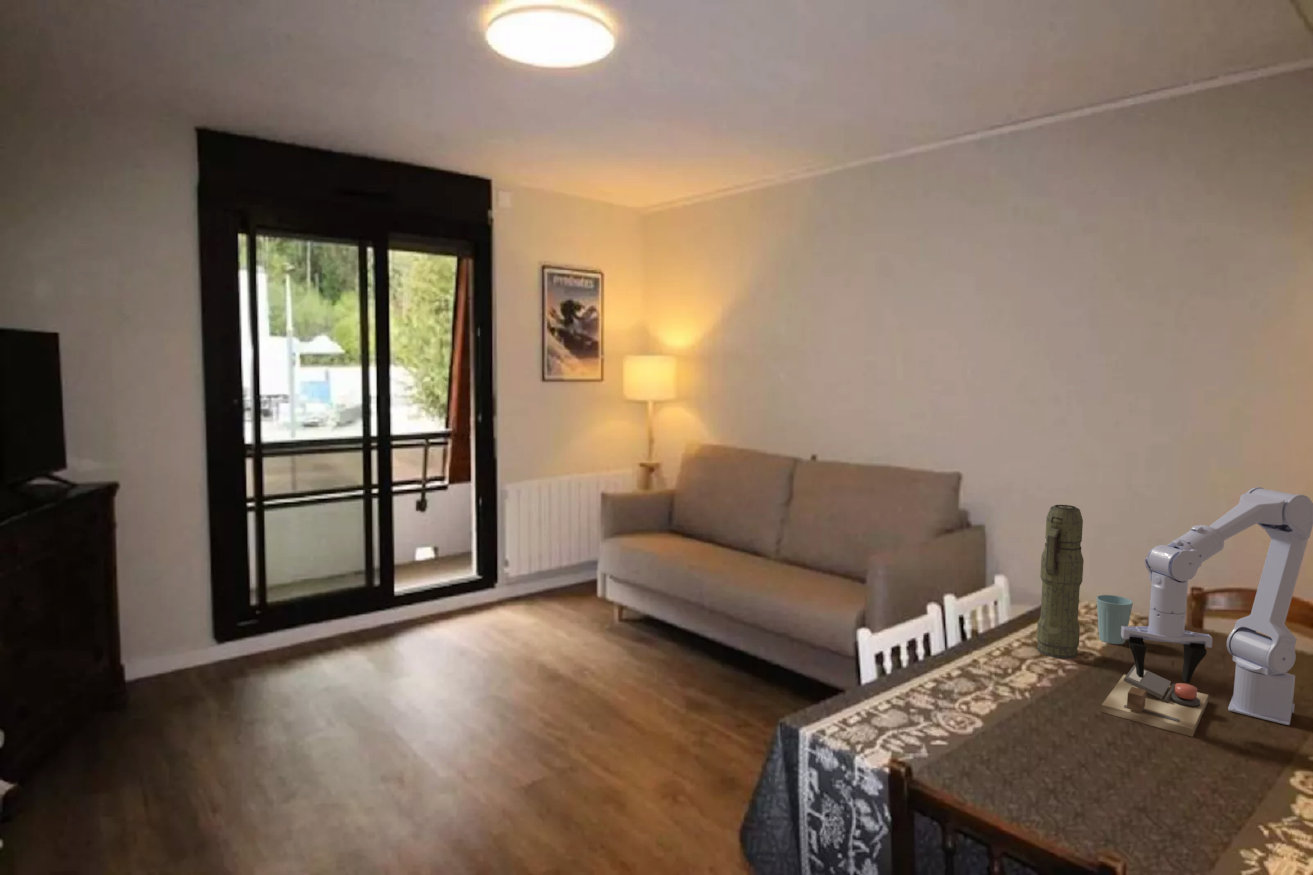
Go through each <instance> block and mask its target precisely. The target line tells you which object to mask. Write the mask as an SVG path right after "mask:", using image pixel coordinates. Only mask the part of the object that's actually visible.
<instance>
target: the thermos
mask: <svg viewBox="0 0 1313 875" xmlns="http://www.w3.org/2000/svg"><path fill="white" fill-rule="evenodd" d="M1083 523H1084V521H1083V516H1082V513H1081V509H1080V508H1079V507H1077V506H1074V505H1069V504H1055V505H1053V506H1051V507H1050V509H1049V510H1048V512H1047V515H1046V523H1045V540H1046V541H1045V544H1044V549H1043V551H1042V553H1041V560H1040V577H1039V578H1041V583H1042V585H1041V598H1040V599H1041V600H1040V602H1041V603H1040V617H1039V619H1038V621H1037V625H1036V626H1037V627H1036V629H1037V630H1036V641H1037V645H1036V651H1037V652H1039V653H1041V654H1042V655H1045V656H1047V657H1051V658H1054V659H1055V658H1057V659H1066V660H1067V659H1068V660H1070V659H1075V658H1077V657H1078V653H1079V652H1078V648H1079V646H1080V634H1081V633H1080V632H1081V630H1080V629H1081V628H1080V627H1081V626H1080V624H1079V620H1078V619H1079V606H1080V605H1079V604H1080V589H1081V588H1080V586H1081V585H1082V583H1083V576H1084V556H1083V552H1082V546H1081V543H1082V542H1083V528H1084V527H1083V526H1084V525H1083Z"/></svg>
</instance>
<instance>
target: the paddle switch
mask: <svg viewBox="0 0 1313 875" xmlns="http://www.w3.org/2000/svg"><path fill="white" fill-rule="evenodd" d="M1125 675H1126V677H1125V678H1124V681H1125V682H1127V683H1129V684H1131V685H1133V686H1135V687H1137V688H1139V689H1143V690H1146V692H1148V693H1150V694H1152V695H1154V696H1156V697H1158V698H1160V699H1162V698H1163V696H1164V694H1165V693H1166V691H1167V689H1168V687H1169V686H1171V683H1172V681H1171V680H1169V679H1167V678H1164V677H1162V676H1160V675H1158V674H1156V673H1153V672H1151V671H1150V670H1147V669H1145V668H1144V676H1143V678H1141V677H1138V675H1137V674H1136V665H1135V664H1133V666H1132V667H1131V668H1130V670H1129V671H1128V672H1127V674H1125Z"/></svg>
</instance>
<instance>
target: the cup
mask: <svg viewBox="0 0 1313 875" xmlns="http://www.w3.org/2000/svg"><path fill="white" fill-rule="evenodd" d="M1133 603H1134V602H1133V600H1131V599H1129V598H1128V597H1123V596H1120V595H1113V594H1099V595H1098V596H1096V610H1097V625H1098V639H1099V640H1100V641H1102V642H1104V643H1107V644H1110V645H1111V644H1112V645H1123V644H1125V643H1126V641H1127V639H1123V638H1122V636H1121V626H1129V624H1130V619H1131V614H1132V611H1133V610H1132V608H1133Z"/></svg>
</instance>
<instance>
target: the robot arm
mask: <svg viewBox="0 0 1313 875" xmlns="http://www.w3.org/2000/svg"><path fill="white" fill-rule="evenodd" d="M1254 525H1258V526H1259V527H1260V528H1262V529H1263V530H1265V533H1266V534H1267V535H1268V536H1269V537H1270V543H1269V546H1268V550H1267V554H1266V556H1265V557H1266V558H1265V561H1264V564H1263V568H1262V571H1261V575H1260V580H1259V582H1258V586H1257V589H1256V593H1255V597H1254V600H1253V604H1252V608H1251V612H1250V614H1249V615H1246V616H1244V617H1241V618H1239V619H1237V620H1235V621H1236V622H1235V625H1234V627H1233V628H1232V630H1231V632H1230V633H1229V635H1228V636H1227V639H1226V649H1227V651H1228V653H1229V654H1230V655H1231V656H1232V662H1235V669H1234V670H1235V672H1234V683H1233V684H1234V685H1233V694H1232V696H1231V698H1230V699H1231V700H1230V702H1229V704H1228V707H1227V709H1228V710H1227V711H1229V712H1232V713H1233V712H1234V713H1237V714H1241V715H1244V716H1249V717H1253V718H1256V719H1261V720H1265V721H1270V722H1273V723H1278V724H1282V725H1286V726H1290V725H1291V720H1292V714H1294V713H1295V706H1296V705H1295V703H1294V694H1295V684H1296V674H1291V673H1288V672H1289V671H1290V670H1292V667H1294V664H1295V662H1296V657H1297V656H1296V643H1297V638H1296V636H1295V634H1293V633H1292V632H1291V630H1290V629H1289V628H1288V627H1287V625H1286V624H1285V623H1286V620H1287V617H1288V613H1289V610H1290V606H1291V602H1292V598H1293V595H1294V591H1295V588H1296V584H1297V581H1298V577H1299V573H1300V570H1301V567H1302V563H1303V559H1304V557H1305V552H1306V548H1307V545H1308V541H1309V539H1310V538H1311V533H1312V530H1313V501H1312V500H1311V499H1310V498H1309V496H1307V495H1305V494H1295V493H1291V492H1284V491H1278V490H1271V489H1269V488H1267V489H1266V488H1264V487H1259V486H1256V487H1253V488H1250V489H1249V490H1248V491H1247V492H1245V493H1243V494H1241V495H1240V498H1239V501H1238V504H1237V505H1235V506H1234V507H1233V508H1231V509H1229V511H1227V512H1226V513H1224V514H1223V515H1222V516H1221V517H1219V518H1218V519H1217V520H1215V521H1214V522H1213V523H1211V524H1210V525H1207V524H1206V525H1205V524H1198V525H1197V524H1196V525H1194V526H1192V527H1190V530H1189V531H1186V532H1185V533H1184V534H1182V535H1181V536H1179V537H1178V538H1175V539H1173V540H1172V541H1171V542H1170V543H1168V544H1167V545H1166V544H1158V545H1156V546H1154V547H1152V548H1151V549H1150V550H1149V552H1148V553H1147V555H1146V558H1144V565H1145V567H1146V569H1147V571H1148V580H1149V581H1150V584H1151V587H1150V602H1149V612H1148V614H1149V615H1148V626H1146V625H1145V626H1141V625H1140V626H1129V625H1128V626H1121V636H1122V638H1123V639H1126V641H1127V643H1128V646H1129V648H1130V650H1131V654H1132V656H1133V660H1134V663H1135V664H1134V665H1136V674H1137V675H1138V677H1141V678H1143V676H1144V669H1145V657H1146V654H1147V653H1146V652H1147V648H1148V647H1147V646H1146V645H1145V641H1152V642H1154V641H1155V642H1162V643H1163V642H1164V643H1172V644H1182V645H1183V664H1182V672H1181V673H1182V674H1181V678H1182V680H1183V682H1185V684H1191V680H1192V677H1193V675H1194V673H1195V671H1196V669H1197V667H1198V666H1199V664H1200V663H1201V661H1202V660H1203V659H1204V658H1205V657H1206V656H1207V649H1206V648H1213V637H1212V636H1211V635H1210V634H1209V633H1200V632H1194V631H1189V630H1185V628H1186V613H1187V612H1186V611H1187V602H1188V601H1187V599H1188V587H1189V586H1188V585H1189V580H1193V578H1194V577H1195V576H1196V574H1197V571H1198V570H1199V568H1200V567H1201V566H1202V564H1203V563H1204V562H1205V561H1207V560H1209V559H1210V558H1212V557H1213V556H1215V555H1217V554H1218V553H1220V552H1221V551H1222V550H1223V549H1224V547H1225V541H1226V540H1228V539H1229V538H1232V537H1234V536H1236V535H1238V534H1239V533H1242V532H1243V531H1245V530H1247V529H1249V528H1251V527H1253V526H1254Z"/></svg>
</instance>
